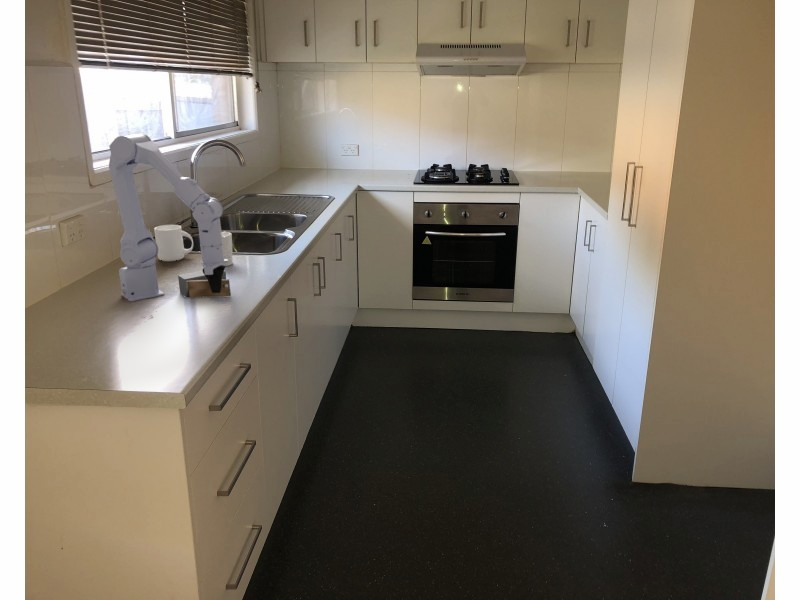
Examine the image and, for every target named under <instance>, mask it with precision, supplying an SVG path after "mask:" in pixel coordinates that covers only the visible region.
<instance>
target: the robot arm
mask: <svg viewBox="0 0 800 600" xmlns="http://www.w3.org/2000/svg"><path fill="white" fill-rule="evenodd" d="M109 150H110V157H109V162H108V170H109V174H110V178H111V182H112V185H113V189H114V194H115V198H116V202H117V206H118V207H117V208H118V211H119V214H120V218H121V224H122V228H123V231H124V232H123V234H122V236H121V238H120V241H119V243H120V251H119V256H120V259H121V261H122V262H123V264H124V265H126V266H124V267H120V268H119V270H118V274H119V275H118V277H119V282H120V283H119V284H120V288H121V295H122V297H124V298H125V300H127V301H129V302H135V301H141V300H144V299H145V300H146V299H149V298H150V299H151V298H154V297H159V296H164V295H165V293H164V292H163V291H162V290H160V289H159V281H158V276H157V275H158V273H157V265H156V257H158V251H159V248H158V245H157V243H156V239H155V238H154V237H153V233H152V231H151V230H149V229H147V228H146V225H145V220H144V216H143V212H142V207H141V203H140V202H141V201H140V198H139V194H138V190H137V186H136V181H135V176H134V173H133V172H134V170H135V168H136V167H137V166H138V165H139V164H144V165H149V166H151V167H152V169H154V170H155V171H157V172H158V174H160V175H161V176H162V177H163V178H164V179H165V180H166V181H167V182H169V183H170V184H171V185H172V186H173V193H174V194H175V195H176V196H177V197H178V198H179V199H180V200H181V201H182V202H183V203H184V204H185V205H186V207H188V208H189V209H190V210H191V211H192V218H193V219H194V220H195V222H196V223H197V228H198V234H199V235H198V236H199V244H200V245H199V246H200V253H201V265H202V266H203V268H202V270H201V271H203V273H204V275H205V276H206V278H207V279H208V282H209V284H210V288H211V291H212V293H220V291H221V283H222V276H223V272H224V271H226V270H225V269H226V266H224V265H222V264H224V263H228V262H229V260H228V259H224V255H223V244H222V234H221V232H222V226H221V225H222V223H221V218H220V217H222V215H223V213H224V209H223V205H222V203H221V202H220V200H219V199H217V198H216V197H211V195H210V194H208V193H206V191H204V190H203V189H202V188H201V187H200V186H199V185H198V181H197V180H196V179H194V178H193V179H192V178H191V177H184V176H183V175H182V174H181V173H180V171H179V170H178V169H177V168H176V167H175V166H174V165H173V163H171V161H170V160H169V159H168V158H167V157H166V156H165V155H164V154H163V152H162V151H161V150H160V149H159V146H158V144H157V143H156V142H155V141H154V140H152V139H151V137H150V136H149V135H148V134H146V133H143V132H140V133H139V132H138V133H136V134H129V135H119V136H117V137H115V138H114V139H113V141H112V142H110V144H109Z"/></svg>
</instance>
